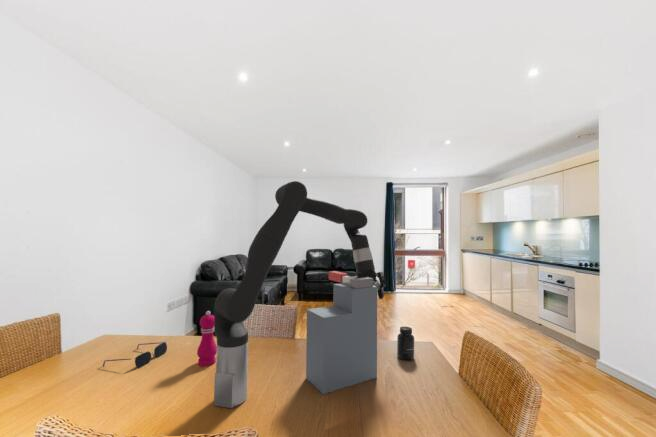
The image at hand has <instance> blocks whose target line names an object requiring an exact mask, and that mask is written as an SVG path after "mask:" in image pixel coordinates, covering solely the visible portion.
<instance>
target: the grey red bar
mask: <svg viewBox="0 0 656 437" xmlns="http://www.w3.org/2000/svg"><path fill="white" fill-rule="evenodd" d="M328 280H329V281H333V282H337V283H344V284H348V285H350V288H353V289H359V288H368V287H373V286H374V285H373V278H369V277H366V278H355V277H353V276H351V275H349V274H348V273H346V272H341V271H338V270H332V271H331V270H330V271H328Z"/></svg>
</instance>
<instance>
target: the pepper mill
mask: <svg viewBox="0 0 656 437" xmlns="http://www.w3.org/2000/svg"><path fill="white" fill-rule="evenodd" d="M199 326H200V333H201V340H200V343H199V346H198V348H197V352H196V354H197V356H198V360H197V361H198V362H197V363H198V366H200V367H210V366H212V365H214V364H215V363H216V360H217V343H216V341H215V339H214V333H215V328H214V314H211V311H210V310H207V311H206V312H205V314H204V315H203V316H202V317H201V318H200V319H199Z"/></svg>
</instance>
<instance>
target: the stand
mask: <svg viewBox="0 0 656 437" xmlns="http://www.w3.org/2000/svg"><path fill="white" fill-rule="evenodd" d="M332 288H333V292H332V293H333V297H332V299H333V300H332V301H333V303H332V304H333V305H328V306H322V307H315V308H313V307H312V308H307V309H306V345H305V346H306V347H305V348H306V349H305V350H306V353H305V356H306V357H305V360H306V362H305V363H306V364H305V372H306V373H305V379H306V380H307V381H308V382H310V384H312V386H314V387H315V389H317V390H318V391H319V392H320V393H321V394H322V395H325V394H329V393H332V392H335V390H336V391H338V390H337V389H339V390H341V388H342V389H344V387H345V388H348V387H351V386H355V385H357V384H358V385H359V384H361V383H364V381H365V382H367V381H371V380H373V379H377V378H378V291H377V290H378V289H377V287H376V286H374V285H373V287H368V288H359V289H353V288H350V285H348V284H344V283H340V282H338V283H333V287H332ZM328 392H329V393H328Z"/></svg>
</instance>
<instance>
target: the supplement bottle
mask: <svg viewBox="0 0 656 437" xmlns="http://www.w3.org/2000/svg"><path fill="white" fill-rule="evenodd" d="M396 340H397V341H396V342H397V345H396V356H397V358H398V359H400V360H402V361H412V360H414V358H415V335H413V329H412V327H409V326H400V328H399V333H398V334H397V338H396Z"/></svg>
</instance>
